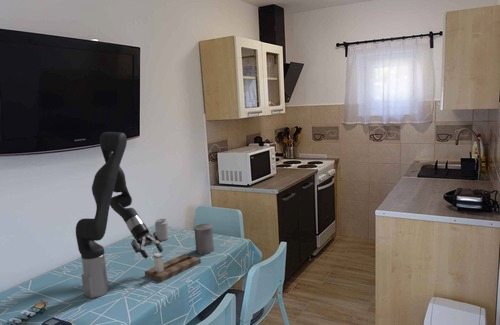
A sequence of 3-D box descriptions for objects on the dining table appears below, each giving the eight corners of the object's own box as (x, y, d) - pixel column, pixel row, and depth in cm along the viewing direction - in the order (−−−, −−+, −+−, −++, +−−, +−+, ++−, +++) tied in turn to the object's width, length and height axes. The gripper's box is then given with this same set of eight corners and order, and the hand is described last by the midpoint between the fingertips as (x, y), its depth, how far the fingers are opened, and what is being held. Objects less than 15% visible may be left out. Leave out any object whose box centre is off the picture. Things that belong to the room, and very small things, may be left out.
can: (166, 241, 229) (164, 221, 227) (154, 241, 231) (152, 221, 229) (171, 237, 236) (169, 218, 235) (159, 236, 238) (157, 218, 236)
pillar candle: (199, 247, 217) (196, 221, 214) (216, 247, 215) (214, 221, 213) (193, 254, 207) (191, 227, 205) (211, 254, 206) (209, 227, 203)
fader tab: (159, 274, 180) (158, 256, 179) (155, 273, 182) (153, 254, 181) (164, 272, 182) (162, 254, 181) (159, 271, 184) (157, 252, 183)
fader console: (161, 282, 176) (160, 277, 175) (145, 275, 183) (144, 271, 183) (200, 262, 195) (200, 258, 195) (184, 257, 202) (184, 253, 202)
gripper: (127, 227, 181) (144, 255, 175) (152, 219, 192) (169, 245, 186) (121, 236, 185) (138, 264, 179) (146, 227, 196) (163, 253, 190)
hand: (154, 254), depth 183 cm, fingers open, 8 cm apart
